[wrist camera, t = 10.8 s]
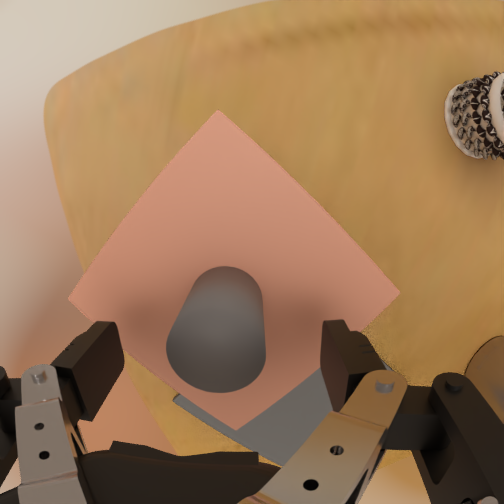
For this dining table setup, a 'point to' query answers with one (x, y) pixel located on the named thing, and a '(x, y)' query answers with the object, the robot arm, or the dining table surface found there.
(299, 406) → the mat
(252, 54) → the dining table surface
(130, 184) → the dining table surface
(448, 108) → the decorative candle
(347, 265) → the lid
